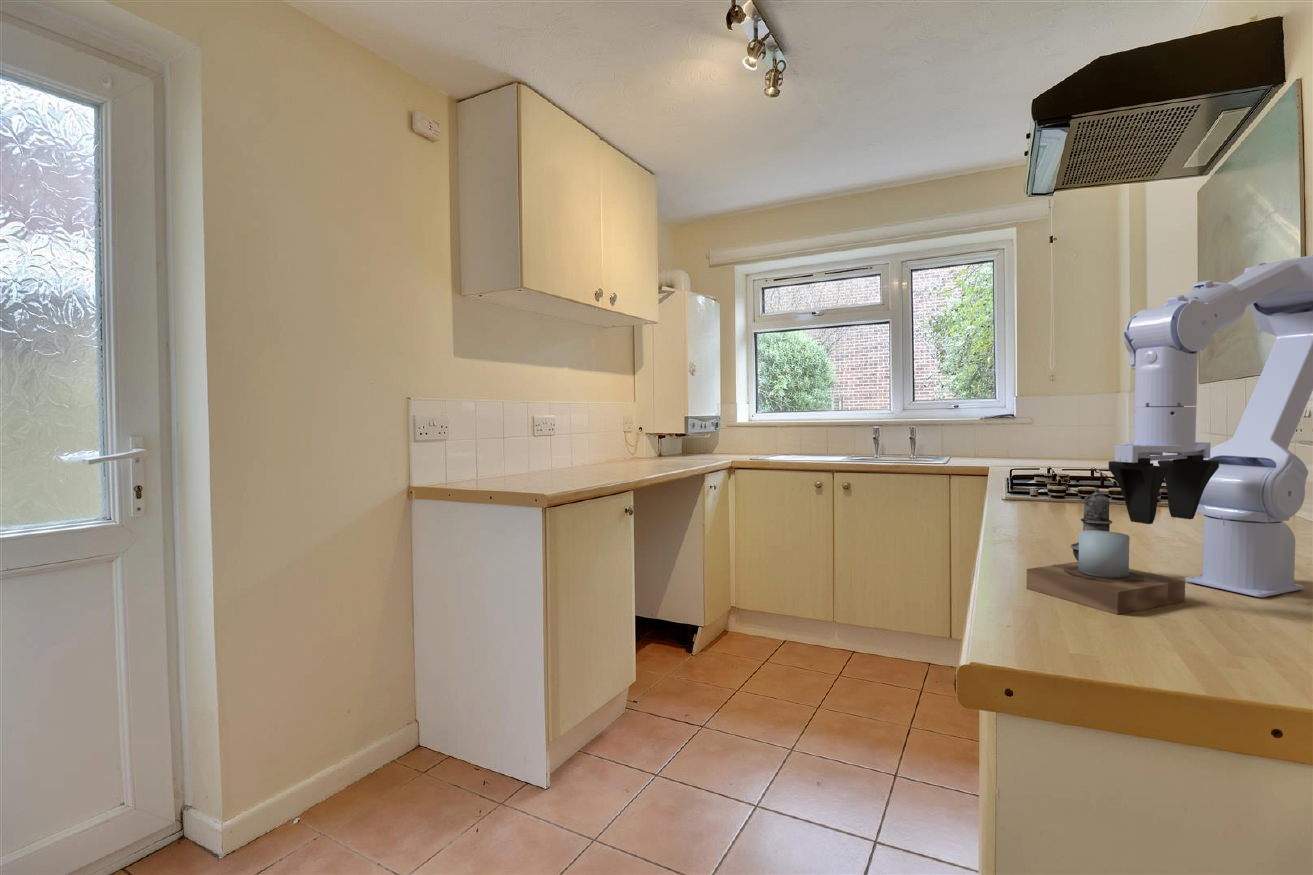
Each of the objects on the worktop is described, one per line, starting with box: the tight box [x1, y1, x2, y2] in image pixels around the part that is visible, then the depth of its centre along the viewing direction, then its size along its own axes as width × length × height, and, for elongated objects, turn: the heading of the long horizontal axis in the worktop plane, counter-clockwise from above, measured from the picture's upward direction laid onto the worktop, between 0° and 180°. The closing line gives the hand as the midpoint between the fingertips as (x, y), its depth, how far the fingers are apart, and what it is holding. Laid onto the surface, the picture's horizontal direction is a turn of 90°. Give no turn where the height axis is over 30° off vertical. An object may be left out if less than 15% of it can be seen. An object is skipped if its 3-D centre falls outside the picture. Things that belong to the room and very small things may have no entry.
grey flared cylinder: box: [1069, 487, 1113, 562], centre depth 85 cm, size 6×6×12 cm
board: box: [1026, 561, 1186, 615], centre depth 76 cm, size 12×11×2 cm
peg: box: [1078, 530, 1131, 580], centre depth 76 cm, size 5×5×7 cm
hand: (1162, 520), depth 74 cm, fingers open, 7 cm apart
